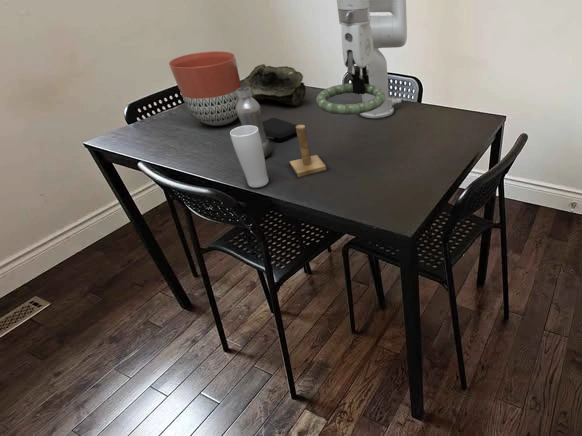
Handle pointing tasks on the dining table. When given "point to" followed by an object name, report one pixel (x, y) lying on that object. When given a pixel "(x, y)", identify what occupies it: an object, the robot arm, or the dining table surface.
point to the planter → (208, 85)
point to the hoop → (349, 108)
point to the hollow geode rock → (276, 84)
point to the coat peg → (306, 156)
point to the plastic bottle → (251, 114)
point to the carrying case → (279, 129)
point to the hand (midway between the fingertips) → (361, 91)
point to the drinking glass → (250, 154)
